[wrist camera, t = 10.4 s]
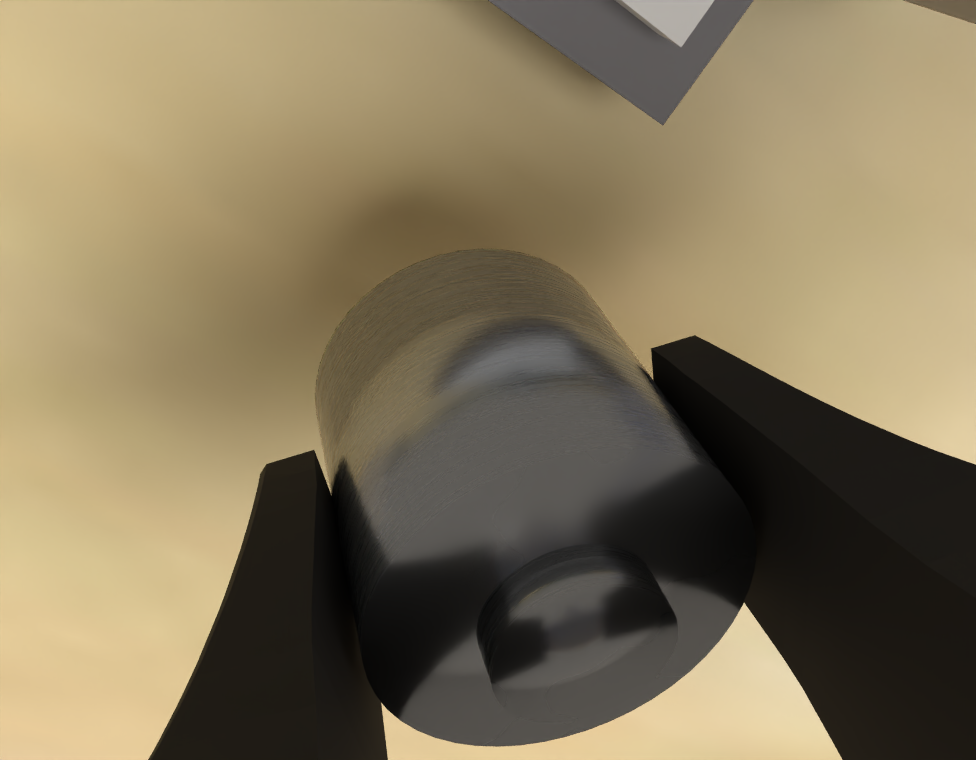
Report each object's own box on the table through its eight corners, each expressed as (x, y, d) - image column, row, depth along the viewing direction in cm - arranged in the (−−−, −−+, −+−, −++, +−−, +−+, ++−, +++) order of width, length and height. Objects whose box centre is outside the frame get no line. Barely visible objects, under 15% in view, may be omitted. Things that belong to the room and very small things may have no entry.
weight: (666, 327, 14) (865, 564, 10) (501, 535, 15) (612, 814, 11) (424, 191, 11) (547, 424, 7) (258, 449, 13) (285, 760, 9)
